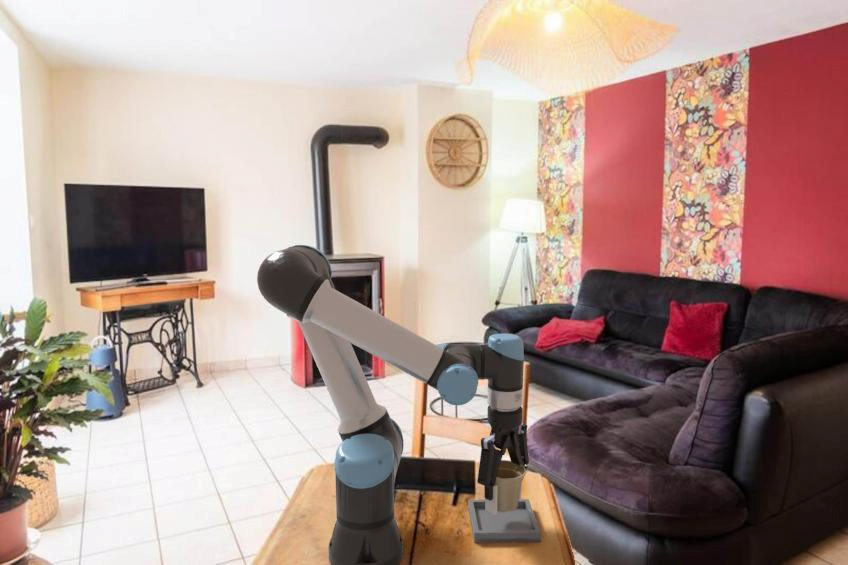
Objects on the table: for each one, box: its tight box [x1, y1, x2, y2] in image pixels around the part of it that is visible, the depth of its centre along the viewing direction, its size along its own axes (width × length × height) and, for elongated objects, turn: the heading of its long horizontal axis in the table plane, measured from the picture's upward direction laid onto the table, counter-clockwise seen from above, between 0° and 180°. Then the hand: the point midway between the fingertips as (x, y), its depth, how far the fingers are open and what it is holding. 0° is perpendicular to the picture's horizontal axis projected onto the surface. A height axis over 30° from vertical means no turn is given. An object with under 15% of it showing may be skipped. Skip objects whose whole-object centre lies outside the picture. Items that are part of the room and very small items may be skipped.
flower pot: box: [490, 459, 527, 512], centre depth 134 cm, size 9×9×9 cm
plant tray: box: [468, 498, 542, 544], centre depth 135 cm, size 14×14×2 cm
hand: (503, 504), depth 135 cm, fingers closed on flower pot, 8 cm apart
